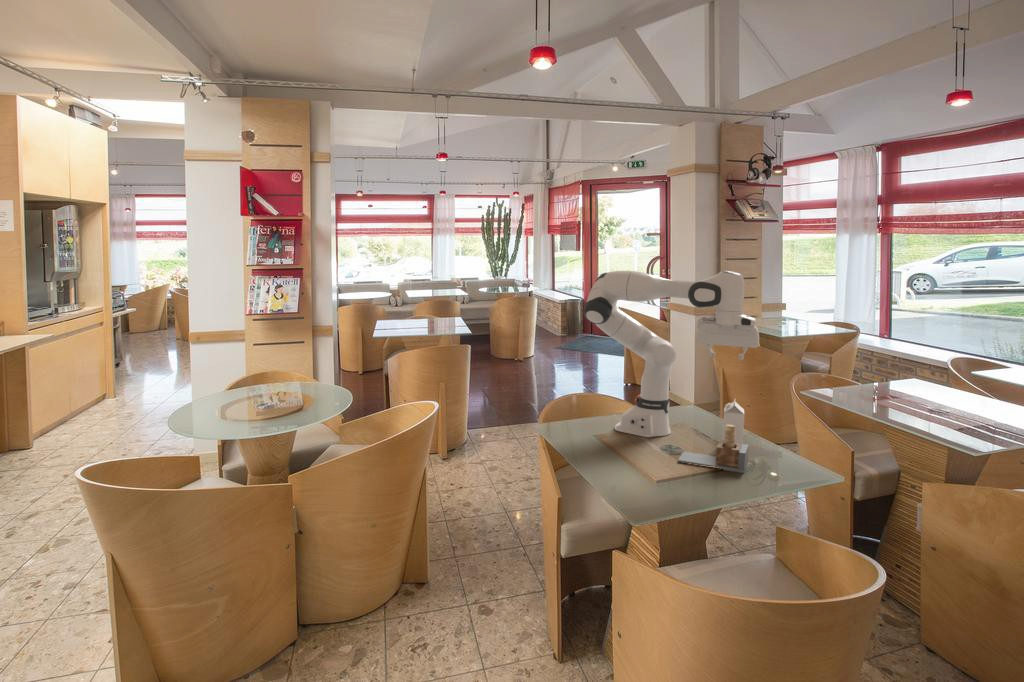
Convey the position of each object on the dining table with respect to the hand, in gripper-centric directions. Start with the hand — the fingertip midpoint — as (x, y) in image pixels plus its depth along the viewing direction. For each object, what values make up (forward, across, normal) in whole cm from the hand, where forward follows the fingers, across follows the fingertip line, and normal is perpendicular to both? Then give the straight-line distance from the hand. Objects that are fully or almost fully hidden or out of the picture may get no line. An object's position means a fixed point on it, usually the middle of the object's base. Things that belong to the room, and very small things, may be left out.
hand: (726, 358), depth 214 cm
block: (+36, +3, -3) cm, 36 cm away
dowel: (+35, +3, -4) cm, 35 cm away
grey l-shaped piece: (+37, -2, -3) cm, 37 cm away
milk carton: (+37, +2, +15) cm, 40 cm away
